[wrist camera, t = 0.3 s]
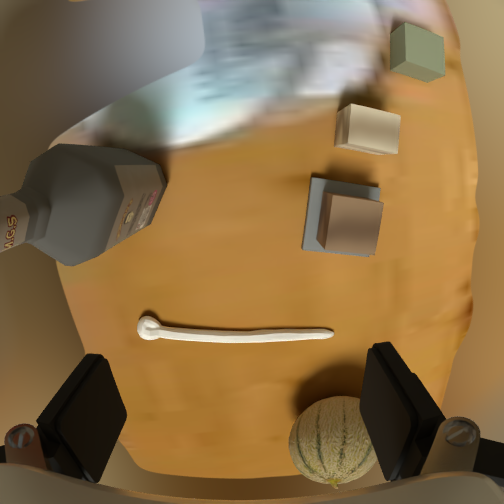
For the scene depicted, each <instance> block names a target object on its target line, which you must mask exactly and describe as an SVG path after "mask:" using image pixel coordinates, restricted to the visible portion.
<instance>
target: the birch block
mask: <svg viewBox="0 0 504 504" xmlns="http://www.w3.org/2000/svg"><path fill="white" fill-rule="evenodd" d="M400 117H401V116H400V115H397V114H393V113H389V112H385V111H381V110H377V109H373V108H369V107H365V106H360V105H356V104H350V105H348V106H347V107H345V108H343V109H342V110H340V111H338V112H337V121H336V131H335V141H334V147H339V148H345V149H350V150H356V151H361V152H366V153H371V154H376V155H385V154H398V143H399V131H400Z"/></svg>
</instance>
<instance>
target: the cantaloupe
mask: <svg viewBox="0 0 504 504" xmlns="http://www.w3.org/2000/svg"><path fill="white" fill-rule="evenodd" d="M359 403H360V399H358V398H355V397H349V396H334V397H330V398H327V399H322V400H320V401H317V402H315V403H314V404H312V405H311V406H310V407H308V408H307V409H306V410H305V411H304V412H303V413H302V414H301V415H300V416H299V417H298V418H297V420H296V421H295V423H294V424H293V426H292V429H291V432H290V436H289V450H290V455H291V457H292V460H293V462H294V464H295V466H296V468H297V469H298V470H299V471H300V472H301V473H302V474H303V475H304V476H306V477H307V478H309V479H311V480H313V481H317V482H321V483H325V484H331V485H332V487H334V488H335V489H338V484H341V483H348V482H349V481H351V480H354V479H357V478H360V477H361V476H363V475H364V474H365V473H366V472H368V471H369V470H370V469H371V468H372V466H373V465H374V464H375V462H376V461H377V459H378V458H377V456H376V453H375V450H374V448H373V445H372V442H371V440H370V437H369V434H368V432H367V429H366V427H365V424H364V421H363V419H362V416H361V414H360V410H359Z"/></svg>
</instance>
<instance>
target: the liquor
mask: <svg viewBox="0 0 504 504" xmlns="http://www.w3.org/2000/svg"><path fill="white" fill-rule="evenodd" d="M166 187H167V184H166V181H165V178H164V175H163V172H162V169H161V166H160V165H159V164H157V163H155V162H153V161H150V160H148V159H146V158H144V157H142V156H139V155H137V154H135V153H133V152H131V151H128V150H126V149H120V148H110V147H99V146H88V145H75V144H57V145H55V146H54V147H52V148H51V149H49V150H48V151H46V152H45V153H43V154H41V155H40V156H38V157H37V158H36V159H34V160H33V161H31V163H30V165H29V168H28V171H27V174H26V176H25V179H24V182H23V185H22V188H21V189H20V190H18V191H17V192H16V193H13V194H8V195H3V196H0V252H2V251H5V250H7V249H9V248H12V247H14V246H17V245H19V244H22V243H25V242H26V243H29V244H32V245H33V246H35V247H36V248H38V249H40V250H41V251H43V252H44V253H46V254H47V255H49V256H51V257H52V258H54V259H55V260H57V261H59V262H60V263H62V264H64V265H65V266H75V265H78V264H80V263H82V262H85V261H87V260H90V259H92V258H95V257H97V256H99V255H100V254H102V253H104V252H105V251H107V250H108V249H110V248H112V247H113V246H115V245H116V244H118V243H120V242H121V241H123V240H125V239H126V238H128V237H130V236H131V235H133V234H135V233H136V232H138V231H140V230H141V229H143V228H145V227H146V226H148V225H150V224H151V222H152V220H153V217H154V215H155V213H156V210H157V208H158V205H159V203H160V201H161V198H162V196H163V194H164V192H165V189H166Z"/></svg>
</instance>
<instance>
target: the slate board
mask: <svg viewBox="0 0 504 504" xmlns="http://www.w3.org/2000/svg"><path fill="white" fill-rule="evenodd" d="M380 189H381V188H376V187H370V186H365V185H359V184H353V183H347V182H340V181H334V180H327V179H320V178H313V177H311V179H310V188H309V196H308V204H307V211H306V219H305V226H304V234H303V241H302V250H307V251H317V252H326V253H336V254H345V255H355V256H364V257H369V255H367V254H358V253H349V252H339V251H330V250H324V248H323V247H322V246H321V245H320V244H319V242H318V241H317V240H316V237H317V230H318V223H319V216H320V209H321V201H322V194H323V191H324V192H331V193H338V194H345V195H351V196H358V197H364V198H369V199H373V200H376V201H379V196H380Z"/></svg>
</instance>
